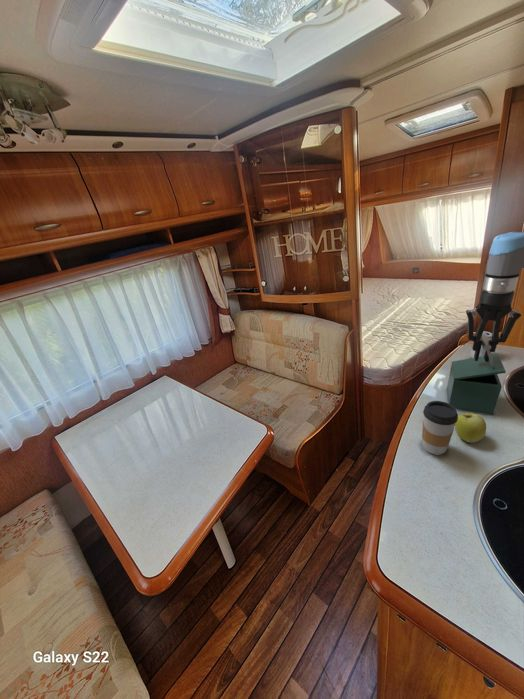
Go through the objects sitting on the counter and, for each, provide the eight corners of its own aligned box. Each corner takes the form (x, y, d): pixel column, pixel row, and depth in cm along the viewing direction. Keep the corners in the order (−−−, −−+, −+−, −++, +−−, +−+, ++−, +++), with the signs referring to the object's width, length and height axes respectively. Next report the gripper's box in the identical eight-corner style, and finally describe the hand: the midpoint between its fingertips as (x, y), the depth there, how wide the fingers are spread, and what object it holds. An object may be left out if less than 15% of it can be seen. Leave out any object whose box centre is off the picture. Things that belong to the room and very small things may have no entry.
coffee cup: (419, 434, 88) (424, 397, 82) (449, 441, 84) (458, 403, 78) (417, 453, 82) (423, 414, 76) (450, 461, 78) (460, 422, 71)
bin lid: (498, 355, 92) (491, 330, 90) (505, 372, 84) (497, 345, 81) (452, 363, 101) (444, 340, 98) (454, 380, 92) (445, 355, 89)
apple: (494, 443, 80) (490, 419, 76) (464, 449, 83) (458, 425, 79) (479, 425, 87) (475, 401, 83) (452, 430, 89) (446, 408, 86)
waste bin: (487, 395, 100) (495, 368, 95) (493, 415, 91) (501, 386, 86) (446, 389, 106) (451, 363, 101) (448, 407, 97) (453, 380, 92)
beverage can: (490, 361, 118) (497, 336, 113) (474, 361, 120) (479, 337, 114) (483, 354, 124) (488, 330, 118) (467, 354, 125) (472, 331, 120)
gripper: (467, 294, 81) (454, 362, 91) (536, 293, 73) (513, 367, 84) (465, 287, 86) (452, 351, 97) (528, 286, 79) (507, 356, 89)
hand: (480, 359), depth 90 cm, fingers closed on bin lid, 2 cm apart
